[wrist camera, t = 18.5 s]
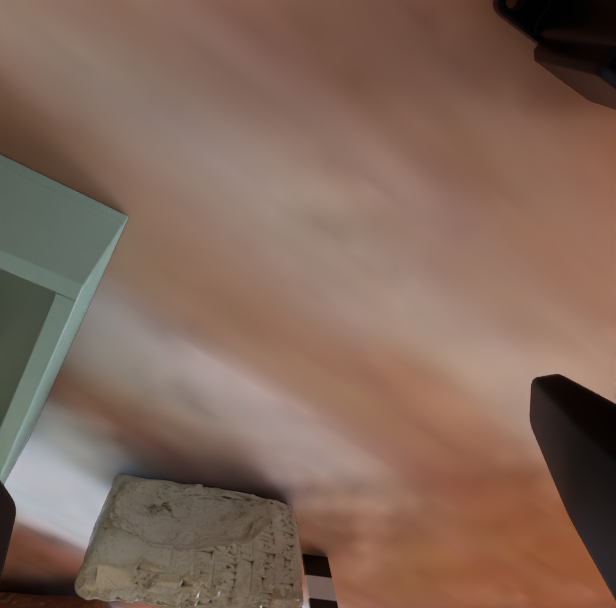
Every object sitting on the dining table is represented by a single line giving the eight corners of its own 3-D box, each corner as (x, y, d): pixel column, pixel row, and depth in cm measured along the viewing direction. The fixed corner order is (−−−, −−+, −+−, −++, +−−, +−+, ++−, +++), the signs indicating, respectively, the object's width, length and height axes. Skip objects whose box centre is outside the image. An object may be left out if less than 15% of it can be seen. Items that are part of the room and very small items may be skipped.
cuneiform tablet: (326, 559, 30) (100, 527, 27) (351, 491, 28) (116, 452, 26) (353, 688, 23) (55, 661, 20) (387, 607, 22) (74, 568, 19)
